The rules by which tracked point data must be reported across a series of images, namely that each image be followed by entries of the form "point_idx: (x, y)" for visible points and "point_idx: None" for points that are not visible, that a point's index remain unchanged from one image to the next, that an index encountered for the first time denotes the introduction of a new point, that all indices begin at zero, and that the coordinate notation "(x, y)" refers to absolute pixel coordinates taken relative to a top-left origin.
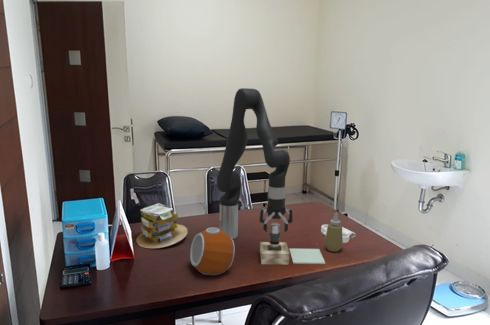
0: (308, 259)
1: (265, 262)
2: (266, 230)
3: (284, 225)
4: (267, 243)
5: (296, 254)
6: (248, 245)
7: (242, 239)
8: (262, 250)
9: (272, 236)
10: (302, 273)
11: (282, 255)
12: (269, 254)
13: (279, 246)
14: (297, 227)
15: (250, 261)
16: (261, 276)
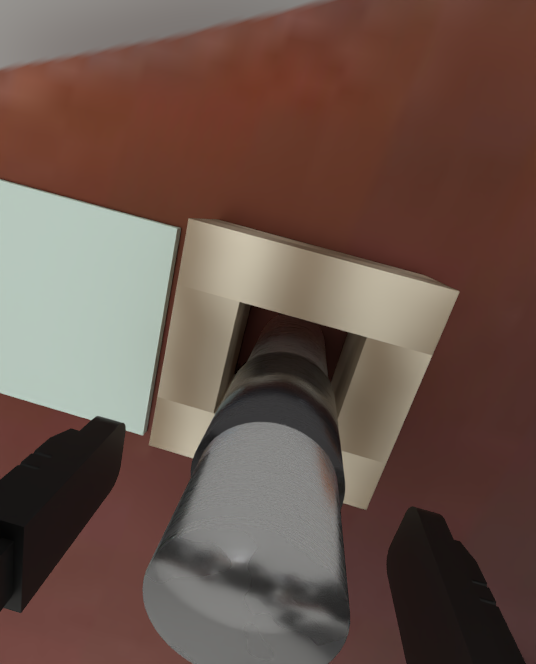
0: (55, 246)
1: (396, 268)
2: (427, 524)
3: (59, 536)
4: None
5: (119, 342)
6: None
7: (397, 630)
8: (420, 351)
9: (325, 417)
10: (159, 44)
11: (257, 235)
12: (379, 268)
13: None
14: (25, 654)
15: (487, 338)
16: (520, 57)
